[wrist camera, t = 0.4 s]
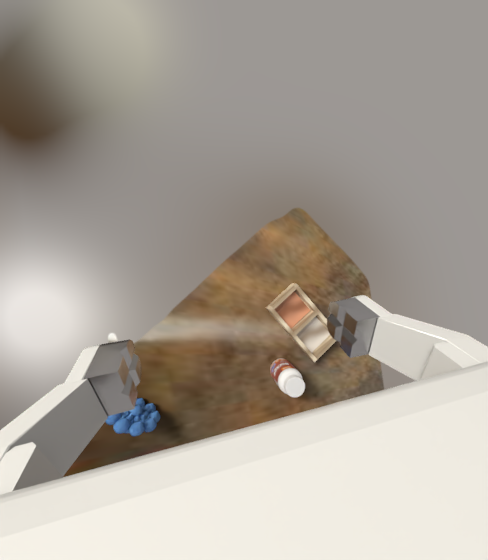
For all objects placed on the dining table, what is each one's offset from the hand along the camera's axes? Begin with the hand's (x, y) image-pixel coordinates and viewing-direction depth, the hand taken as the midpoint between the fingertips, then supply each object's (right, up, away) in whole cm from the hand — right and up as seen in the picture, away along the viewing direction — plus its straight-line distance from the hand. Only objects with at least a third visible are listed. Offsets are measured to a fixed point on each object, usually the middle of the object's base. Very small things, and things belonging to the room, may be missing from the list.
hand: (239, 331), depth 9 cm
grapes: (-26, -29, +48) cm, 62 cm away
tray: (+16, -9, +55) cm, 58 cm away
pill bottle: (+10, -22, +54) cm, 59 cm away
